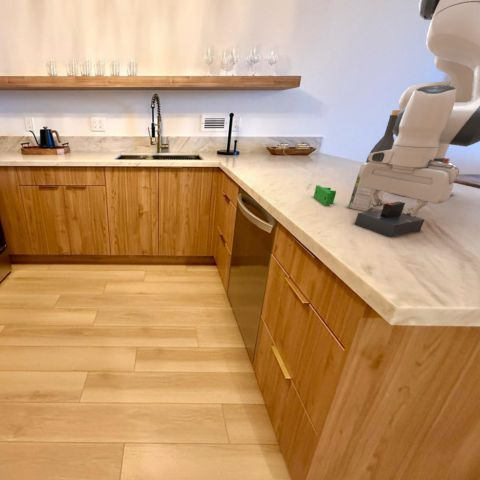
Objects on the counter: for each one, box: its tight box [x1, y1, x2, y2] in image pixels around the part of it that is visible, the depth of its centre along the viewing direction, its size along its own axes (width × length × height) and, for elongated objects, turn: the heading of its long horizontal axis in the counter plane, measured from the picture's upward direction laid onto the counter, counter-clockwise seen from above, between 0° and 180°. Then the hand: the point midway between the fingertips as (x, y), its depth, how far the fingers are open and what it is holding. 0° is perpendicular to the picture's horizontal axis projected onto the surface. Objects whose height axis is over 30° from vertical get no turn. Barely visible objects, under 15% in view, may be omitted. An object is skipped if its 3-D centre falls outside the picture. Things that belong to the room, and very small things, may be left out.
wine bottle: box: [365, 109, 401, 204], centre depth 96 cm, size 8×8×30 cm
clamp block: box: [354, 208, 426, 238], centre depth 79 cm, size 12×10×4 cm
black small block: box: [381, 201, 406, 218], centre depth 78 cm, size 6×2×4 cm, turn 111°
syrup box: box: [347, 162, 373, 212], centre depth 93 cm, size 6×6×14 cm
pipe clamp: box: [313, 184, 337, 207], centre depth 102 cm, size 11×4×5 cm, turn 173°
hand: (392, 210), depth 78 cm, fingers open, 8 cm apart
